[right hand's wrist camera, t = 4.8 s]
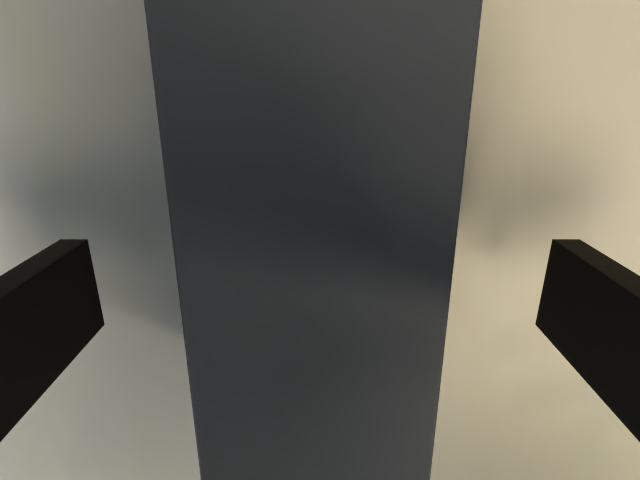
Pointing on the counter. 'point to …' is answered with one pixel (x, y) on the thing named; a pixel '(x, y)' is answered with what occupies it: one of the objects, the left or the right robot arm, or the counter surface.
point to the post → (314, 224)
